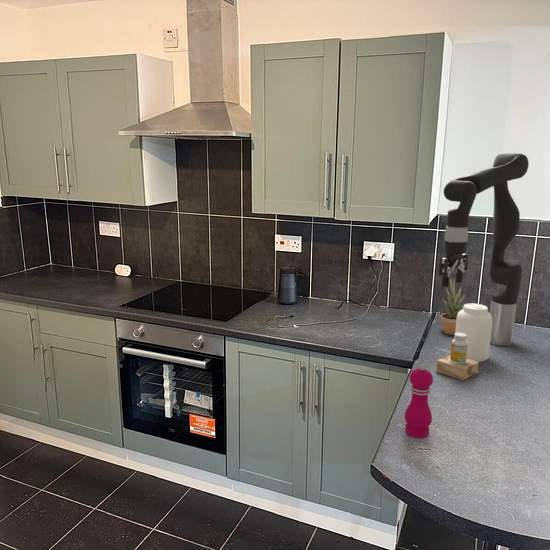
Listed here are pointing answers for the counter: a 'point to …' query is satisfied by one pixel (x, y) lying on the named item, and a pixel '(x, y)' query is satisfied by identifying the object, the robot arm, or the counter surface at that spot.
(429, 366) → the counter surface
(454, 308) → the potted plant
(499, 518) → the counter surface
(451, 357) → the supplement bottle
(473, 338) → the white jar
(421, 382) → the pepper mill
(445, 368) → the pedestal
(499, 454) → the counter surface
